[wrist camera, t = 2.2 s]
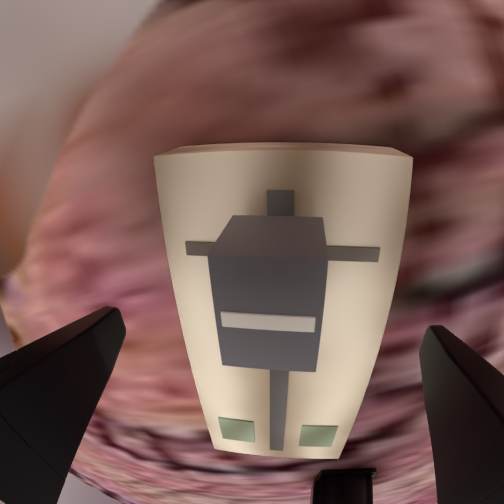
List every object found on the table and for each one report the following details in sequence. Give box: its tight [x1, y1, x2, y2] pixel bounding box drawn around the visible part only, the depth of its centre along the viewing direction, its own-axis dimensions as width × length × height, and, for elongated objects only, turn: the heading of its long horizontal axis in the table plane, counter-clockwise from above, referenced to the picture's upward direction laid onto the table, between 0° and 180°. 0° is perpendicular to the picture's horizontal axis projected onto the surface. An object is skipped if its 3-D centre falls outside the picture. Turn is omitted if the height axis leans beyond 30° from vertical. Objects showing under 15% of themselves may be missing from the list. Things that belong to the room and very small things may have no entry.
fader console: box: [153, 142, 413, 459], centre depth 17 cm, size 10×22×3 cm, turn 3°
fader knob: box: [207, 215, 328, 372], centre depth 10 cm, size 3×4×4 cm
